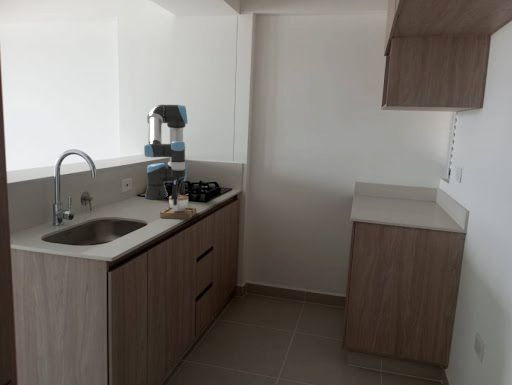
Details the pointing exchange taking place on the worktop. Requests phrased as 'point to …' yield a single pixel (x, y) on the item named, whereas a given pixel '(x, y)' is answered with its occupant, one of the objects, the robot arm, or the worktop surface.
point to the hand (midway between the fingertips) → (178, 208)
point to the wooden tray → (178, 213)
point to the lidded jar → (180, 202)
